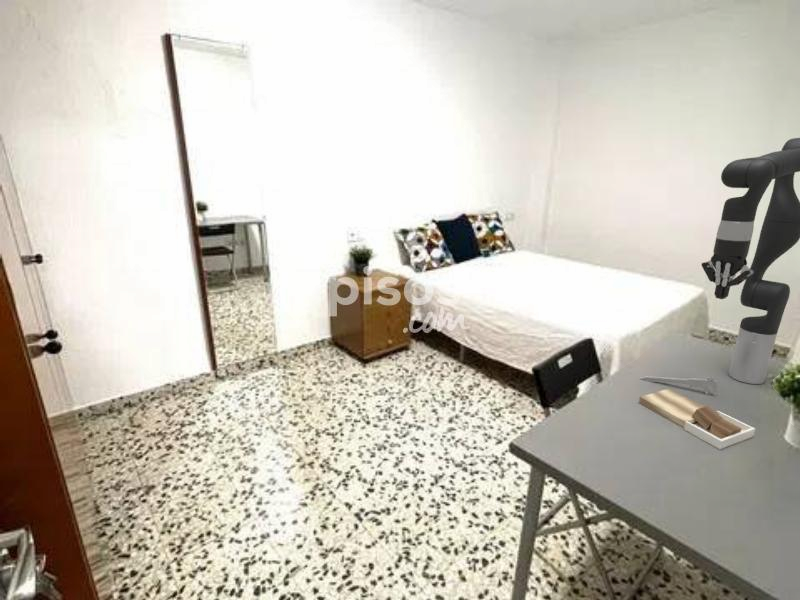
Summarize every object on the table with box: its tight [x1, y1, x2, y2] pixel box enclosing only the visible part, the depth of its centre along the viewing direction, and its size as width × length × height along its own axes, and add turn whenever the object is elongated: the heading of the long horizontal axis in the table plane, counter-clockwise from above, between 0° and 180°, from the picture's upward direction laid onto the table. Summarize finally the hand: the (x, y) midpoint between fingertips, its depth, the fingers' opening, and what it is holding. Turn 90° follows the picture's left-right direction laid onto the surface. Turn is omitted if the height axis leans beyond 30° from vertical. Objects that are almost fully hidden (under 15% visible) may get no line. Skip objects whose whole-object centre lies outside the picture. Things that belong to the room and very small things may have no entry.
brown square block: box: [692, 405, 724, 429], centre depth 111 cm, size 4×4×3 cm
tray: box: [683, 410, 756, 450], centre depth 109 cm, size 13×9×2 cm
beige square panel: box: [638, 388, 706, 429], centre depth 120 cm, size 12×14×2 cm
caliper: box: [639, 375, 718, 396], centre depth 132 cm, size 20×1×6 cm, turn 55°
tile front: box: [710, 419, 742, 439], centre depth 107 cm, size 4×4×3 cm
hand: (720, 298), depth 117 cm, fingers closed
